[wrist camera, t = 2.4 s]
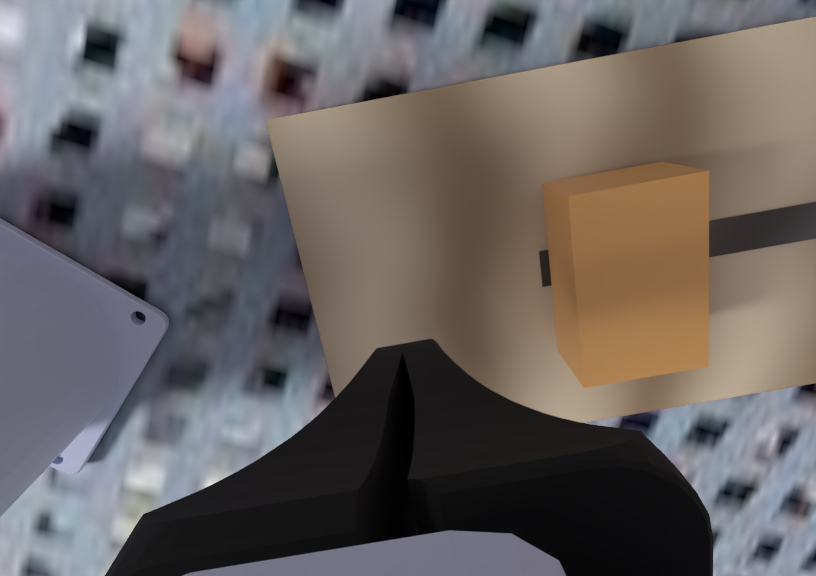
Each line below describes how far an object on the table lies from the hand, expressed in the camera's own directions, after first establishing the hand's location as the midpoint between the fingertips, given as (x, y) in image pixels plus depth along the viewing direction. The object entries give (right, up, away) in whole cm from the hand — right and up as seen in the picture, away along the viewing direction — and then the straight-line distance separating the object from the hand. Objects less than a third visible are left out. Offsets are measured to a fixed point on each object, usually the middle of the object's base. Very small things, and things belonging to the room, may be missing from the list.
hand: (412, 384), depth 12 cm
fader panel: (+8, +4, +7) cm, 11 cm away
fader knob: (+6, +3, +5) cm, 9 cm away
